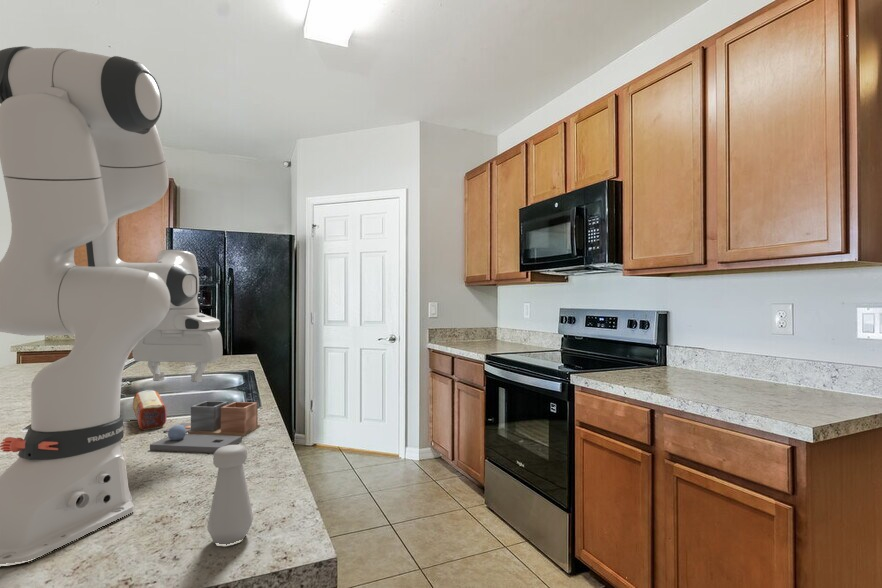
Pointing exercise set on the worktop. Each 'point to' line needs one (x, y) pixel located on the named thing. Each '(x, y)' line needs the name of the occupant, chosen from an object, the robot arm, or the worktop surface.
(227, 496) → the salt shaker
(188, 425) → the card
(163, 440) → the grey flat slab
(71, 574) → the worktop surface
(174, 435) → the ball blue
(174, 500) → the worktop surface
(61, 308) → the robot arm
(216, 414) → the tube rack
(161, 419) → the snack package
